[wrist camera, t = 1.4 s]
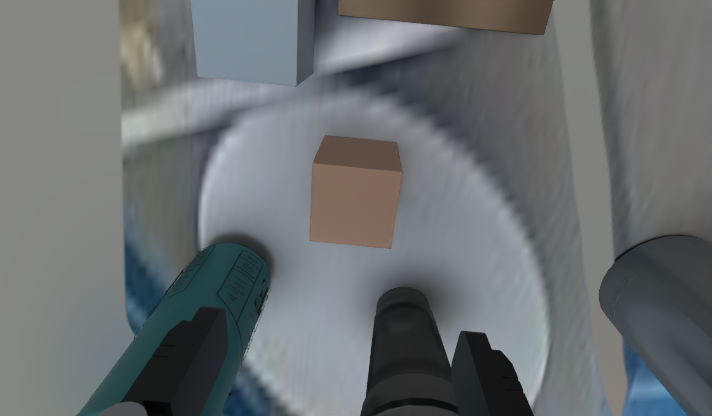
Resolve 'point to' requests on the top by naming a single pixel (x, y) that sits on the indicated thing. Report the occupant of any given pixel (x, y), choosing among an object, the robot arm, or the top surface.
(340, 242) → the terracotta block
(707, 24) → the top surface
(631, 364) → the top surface
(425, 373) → the beverage cup
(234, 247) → the beverage bottle
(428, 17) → the board
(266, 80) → the slate block
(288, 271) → the top surface
